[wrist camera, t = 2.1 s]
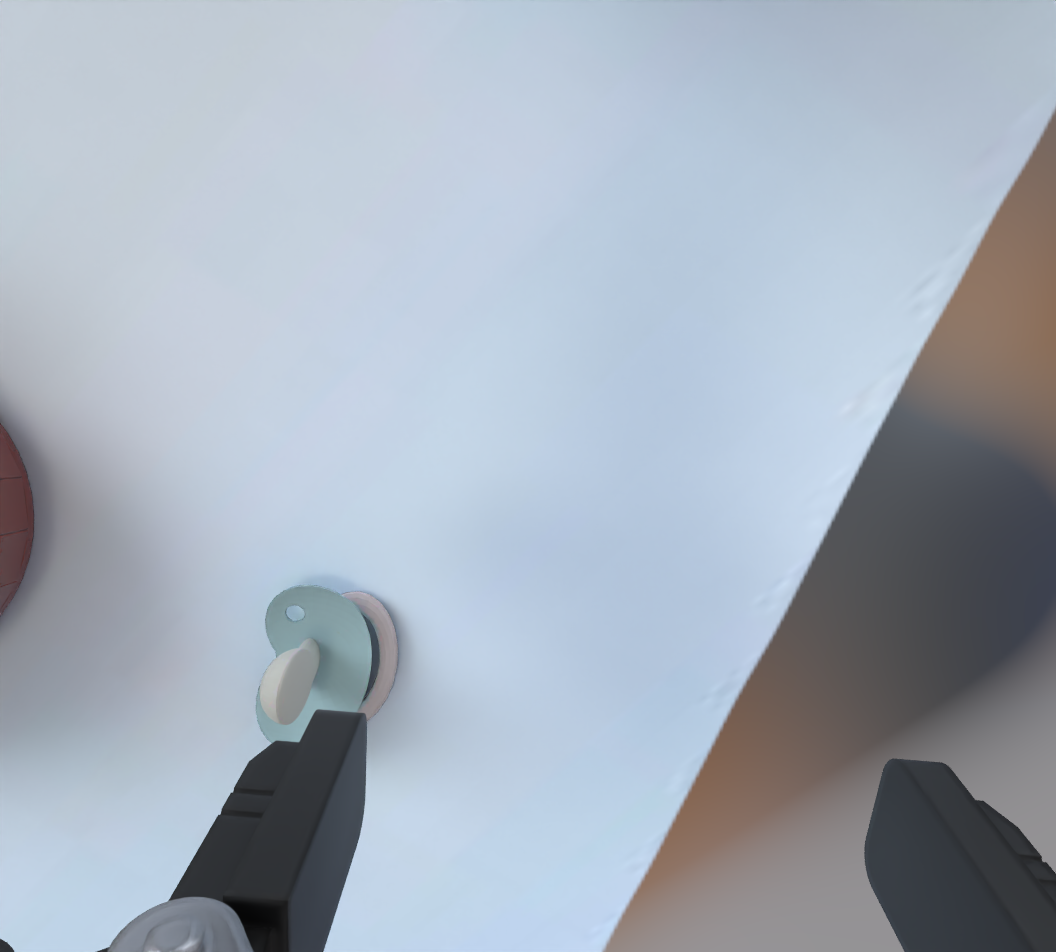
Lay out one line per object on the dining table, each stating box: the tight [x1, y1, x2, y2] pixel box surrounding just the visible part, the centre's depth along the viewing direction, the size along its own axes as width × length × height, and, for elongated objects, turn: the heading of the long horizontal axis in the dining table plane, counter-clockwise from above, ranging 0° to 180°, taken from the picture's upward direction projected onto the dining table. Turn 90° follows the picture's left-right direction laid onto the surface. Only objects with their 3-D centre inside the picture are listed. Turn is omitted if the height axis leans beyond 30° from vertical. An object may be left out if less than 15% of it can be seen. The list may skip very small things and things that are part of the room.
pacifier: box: [256, 585, 398, 743], centre depth 33 cm, size 7×6×6 cm
